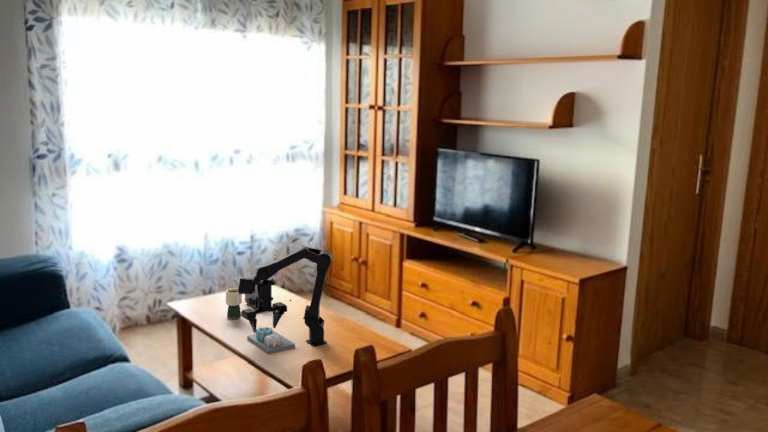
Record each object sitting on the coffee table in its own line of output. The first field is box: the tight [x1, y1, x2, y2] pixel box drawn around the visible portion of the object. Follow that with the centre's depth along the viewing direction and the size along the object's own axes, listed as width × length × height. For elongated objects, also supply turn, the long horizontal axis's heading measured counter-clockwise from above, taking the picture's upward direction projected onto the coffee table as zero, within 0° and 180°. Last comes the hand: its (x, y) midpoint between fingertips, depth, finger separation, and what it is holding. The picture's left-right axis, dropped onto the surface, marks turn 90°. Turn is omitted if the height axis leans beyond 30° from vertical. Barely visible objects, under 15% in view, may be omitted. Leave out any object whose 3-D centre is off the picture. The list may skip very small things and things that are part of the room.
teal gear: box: [255, 326, 274, 341], centre depth 270 cm, size 7×7×4 cm
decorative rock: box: [244, 276, 263, 309], centre depth 310 cm, size 16×7×15 cm, turn 39°
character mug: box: [225, 287, 243, 319], centre depth 294 cm, size 11×7×13 cm, turn 36°
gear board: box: [246, 326, 296, 355], centre depth 268 cm, size 18×12×6 cm, turn 40°
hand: (264, 330), depth 270 cm, fingers open, 9 cm apart
